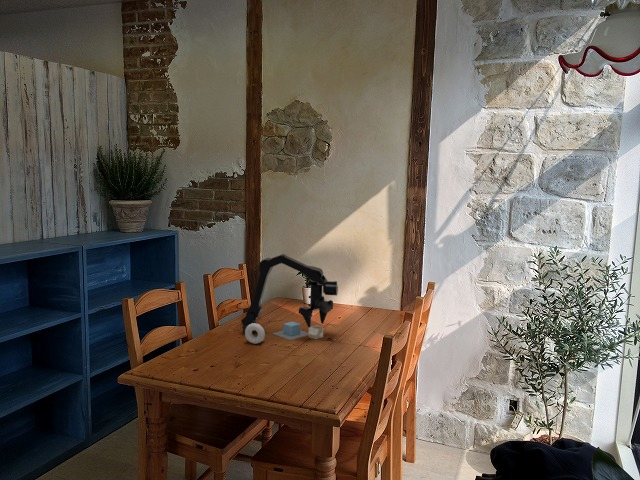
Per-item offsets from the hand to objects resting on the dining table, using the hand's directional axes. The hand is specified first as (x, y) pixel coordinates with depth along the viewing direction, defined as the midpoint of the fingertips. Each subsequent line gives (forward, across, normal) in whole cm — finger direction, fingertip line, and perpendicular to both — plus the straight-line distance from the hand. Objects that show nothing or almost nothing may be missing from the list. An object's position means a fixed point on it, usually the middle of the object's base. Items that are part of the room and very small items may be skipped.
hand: (315, 325), depth 256 cm
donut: (+7, -26, +15) cm, 31 cm away
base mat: (+7, -5, +12) cm, 15 cm away
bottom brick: (+6, -5, +12) cm, 14 cm away
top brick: (+7, 0, 0) cm, 7 cm away
